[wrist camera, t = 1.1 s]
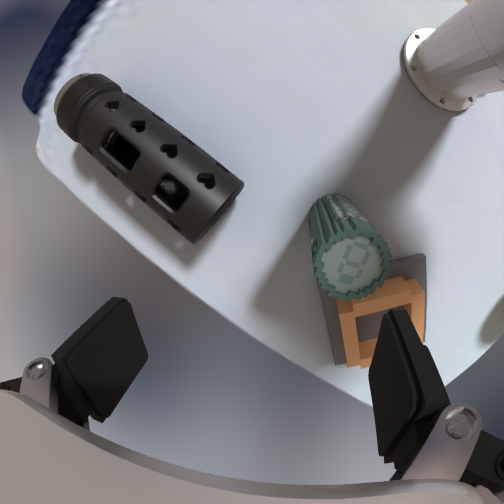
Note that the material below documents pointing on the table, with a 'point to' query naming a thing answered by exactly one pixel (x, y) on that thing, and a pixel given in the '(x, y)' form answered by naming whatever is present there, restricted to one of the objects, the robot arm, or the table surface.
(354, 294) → the can
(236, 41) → the table surface
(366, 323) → the socket block
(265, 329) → the table surface
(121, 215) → the table surface
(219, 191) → the muzzle brake
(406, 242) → the table surface
